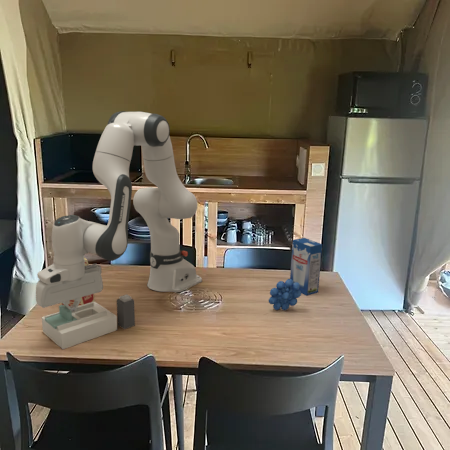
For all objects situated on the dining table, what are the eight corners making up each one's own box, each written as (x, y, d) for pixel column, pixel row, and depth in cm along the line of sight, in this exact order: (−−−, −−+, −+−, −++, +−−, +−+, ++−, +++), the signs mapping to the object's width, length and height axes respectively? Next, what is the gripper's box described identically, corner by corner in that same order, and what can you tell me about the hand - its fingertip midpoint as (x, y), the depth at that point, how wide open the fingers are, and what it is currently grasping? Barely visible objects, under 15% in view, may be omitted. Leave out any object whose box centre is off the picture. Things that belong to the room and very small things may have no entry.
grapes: (297, 304, 167) (299, 274, 164) (301, 313, 161) (304, 281, 158) (265, 305, 166) (267, 274, 163) (269, 313, 160) (271, 281, 157)
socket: (95, 315, 155) (94, 298, 153) (117, 330, 145) (116, 312, 143) (42, 331, 142) (41, 313, 141) (62, 349, 133) (61, 330, 131)
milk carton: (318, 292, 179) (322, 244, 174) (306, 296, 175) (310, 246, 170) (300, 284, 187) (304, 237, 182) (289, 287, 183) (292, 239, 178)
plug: (128, 321, 151) (127, 293, 148) (134, 325, 148) (134, 297, 146) (117, 324, 148) (116, 296, 146) (124, 329, 146) (123, 300, 143)
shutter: (67, 314, 143) (66, 302, 142) (77, 321, 138) (76, 310, 137) (45, 320, 138) (44, 309, 137) (55, 329, 134) (54, 317, 133)
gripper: (95, 259, 146) (97, 299, 149) (31, 274, 132) (35, 317, 136) (106, 265, 142) (107, 305, 145) (40, 280, 128) (44, 325, 131)
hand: (72, 311), depth 140 cm, fingers closed
